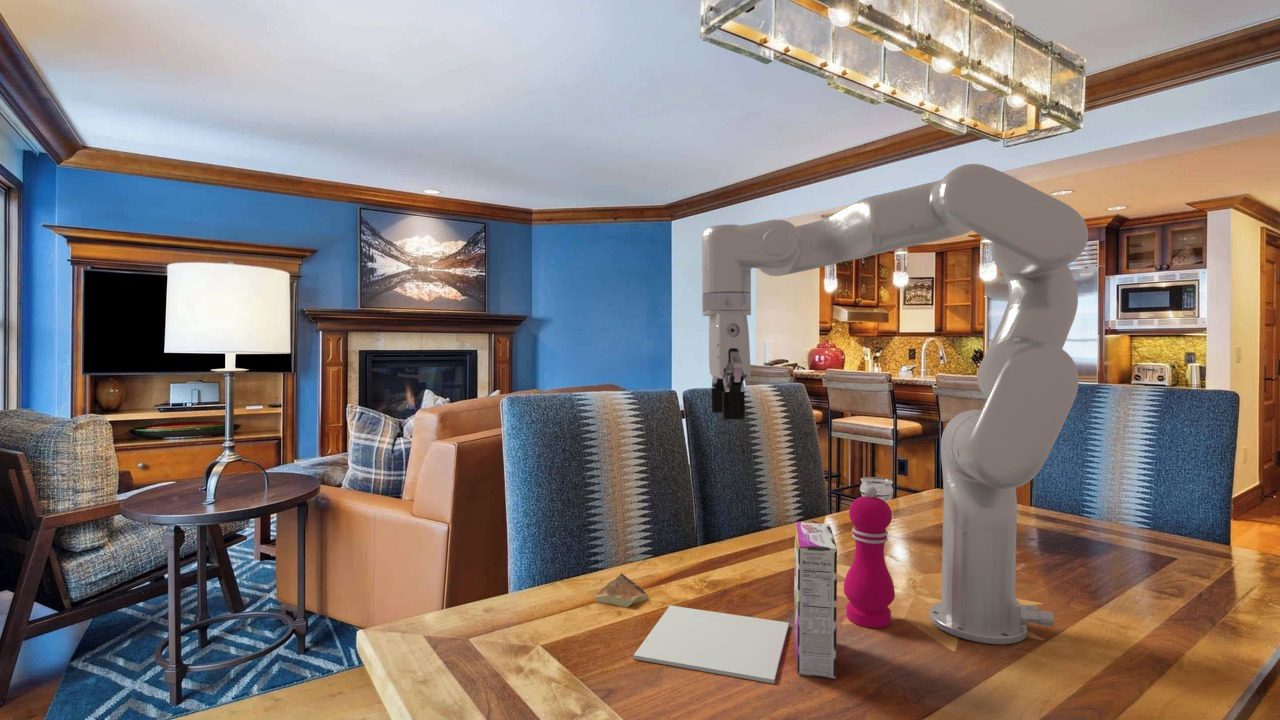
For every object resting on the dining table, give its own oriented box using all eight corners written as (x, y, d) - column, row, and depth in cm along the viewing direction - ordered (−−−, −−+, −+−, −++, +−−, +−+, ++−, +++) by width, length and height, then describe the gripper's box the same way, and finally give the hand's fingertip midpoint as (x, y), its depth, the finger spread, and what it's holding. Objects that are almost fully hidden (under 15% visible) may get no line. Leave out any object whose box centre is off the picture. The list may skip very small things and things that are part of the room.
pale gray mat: (788, 626, 94) (788, 622, 94) (774, 683, 78) (774, 679, 78) (669, 608, 100) (669, 605, 100) (633, 659, 84) (633, 655, 84)
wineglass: (897, 540, 136) (898, 483, 136) (865, 540, 136) (866, 483, 136) (885, 531, 143) (886, 477, 143) (854, 530, 143) (855, 476, 143)
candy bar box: (792, 636, 91) (794, 520, 90) (829, 640, 90) (831, 523, 89) (795, 676, 80) (797, 544, 79) (837, 681, 79) (839, 547, 78)
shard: (621, 581, 113) (621, 571, 113) (662, 588, 110) (662, 577, 110) (592, 604, 103) (593, 593, 103) (637, 612, 100) (637, 600, 100)
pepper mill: (888, 634, 92) (891, 494, 91) (837, 622, 96) (839, 487, 95) (898, 616, 98) (901, 485, 97) (849, 605, 102) (852, 479, 101)
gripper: (764, 302, 93) (764, 421, 93) (738, 309, 110) (739, 409, 110) (712, 302, 92) (713, 422, 92) (694, 309, 109) (695, 410, 110)
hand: (727, 415), depth 101 cm, fingers open, 9 cm apart
